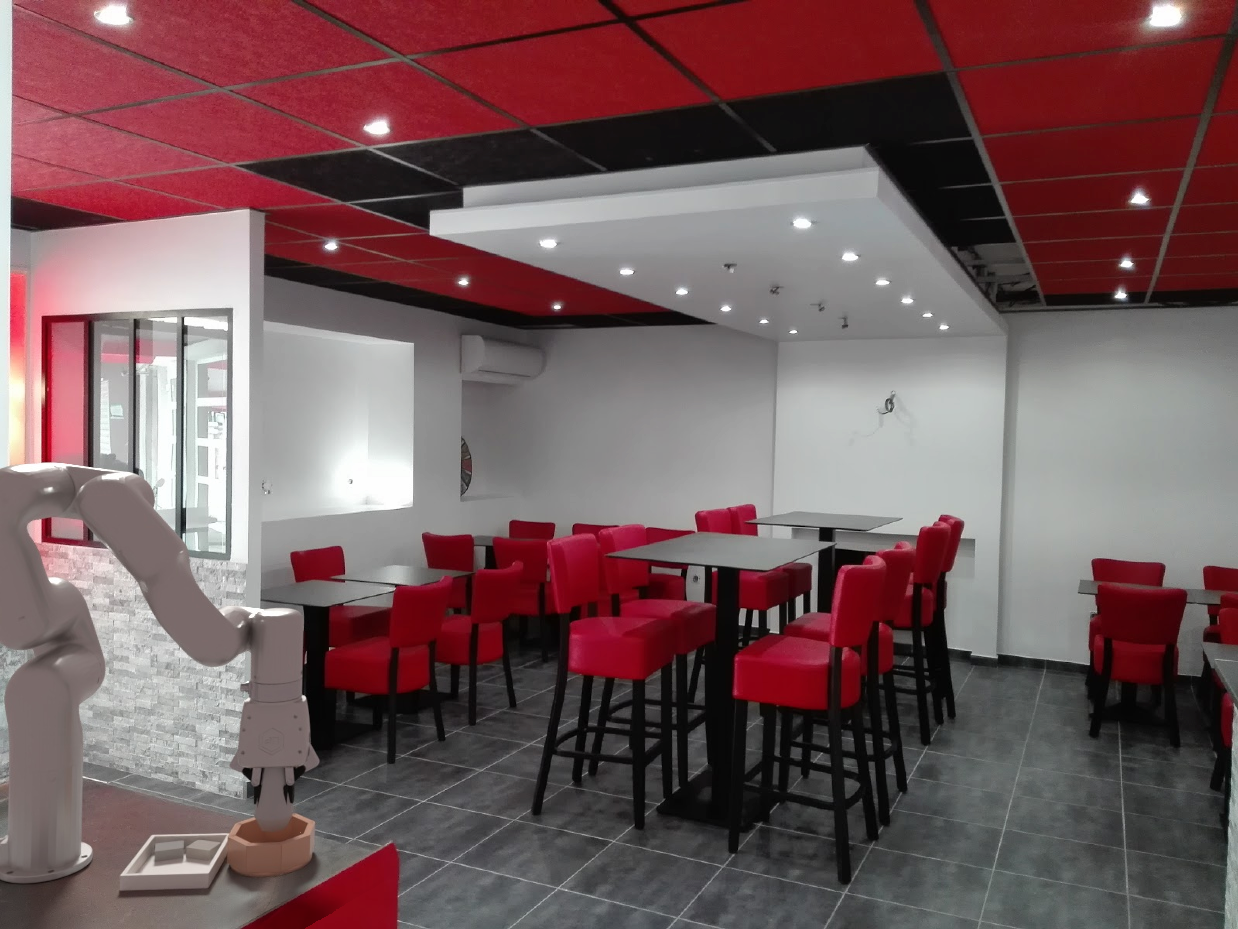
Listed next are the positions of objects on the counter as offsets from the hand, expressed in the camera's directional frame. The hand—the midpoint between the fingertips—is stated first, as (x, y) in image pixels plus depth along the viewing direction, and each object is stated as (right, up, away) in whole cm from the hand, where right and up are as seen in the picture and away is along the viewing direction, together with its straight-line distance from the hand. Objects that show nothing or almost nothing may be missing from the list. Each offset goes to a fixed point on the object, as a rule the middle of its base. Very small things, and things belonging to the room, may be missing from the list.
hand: (274, 807), depth 150 cm
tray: (-13, -8, -4) cm, 16 cm away
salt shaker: (0, -3, 0) cm, 3 cm away
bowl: (-1, -8, 0) cm, 8 cm away
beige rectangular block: (-11, -8, +1) cm, 14 cm away
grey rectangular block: (-16, -8, 0) cm, 18 cm away
